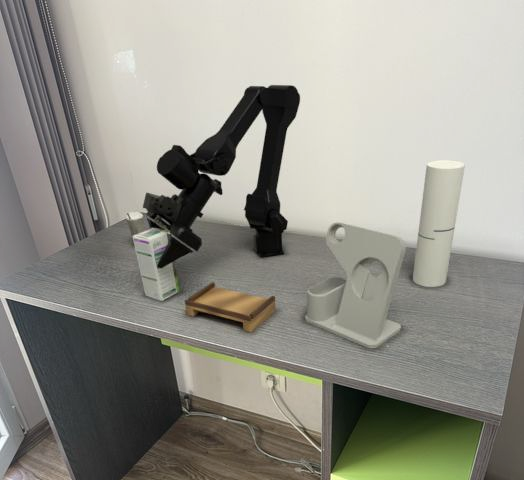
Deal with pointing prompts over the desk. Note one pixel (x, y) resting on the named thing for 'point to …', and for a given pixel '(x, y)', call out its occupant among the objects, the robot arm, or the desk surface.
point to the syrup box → (155, 264)
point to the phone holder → (358, 287)
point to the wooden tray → (231, 306)
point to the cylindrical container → (437, 221)
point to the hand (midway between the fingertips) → (151, 260)
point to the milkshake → (135, 223)
